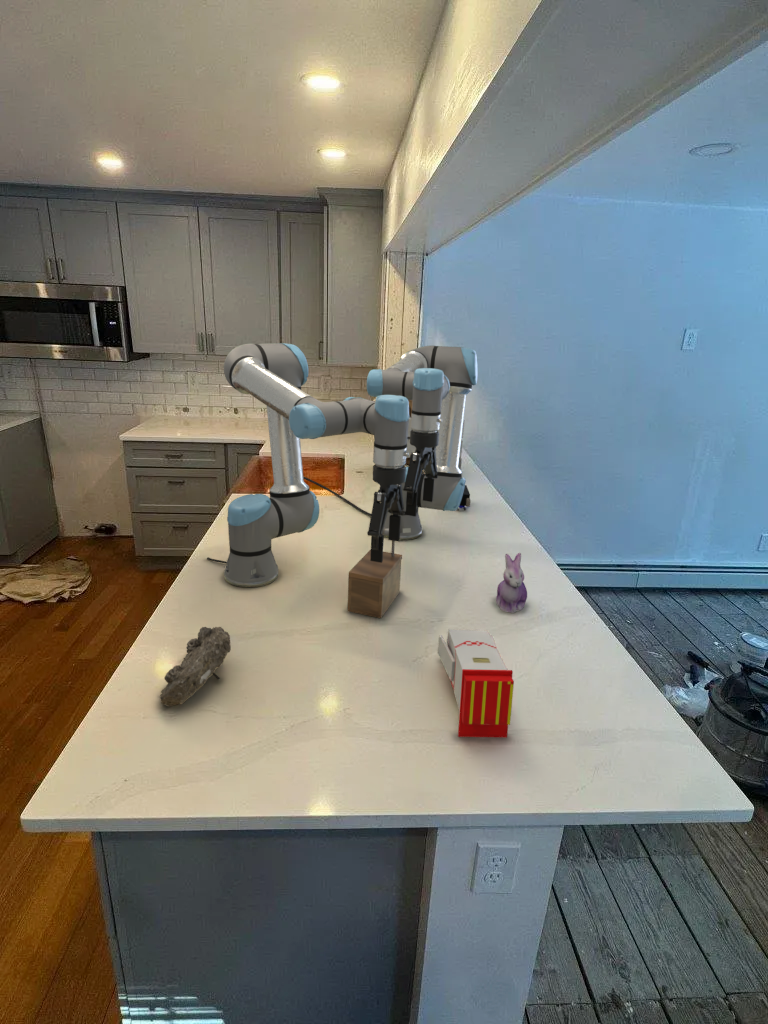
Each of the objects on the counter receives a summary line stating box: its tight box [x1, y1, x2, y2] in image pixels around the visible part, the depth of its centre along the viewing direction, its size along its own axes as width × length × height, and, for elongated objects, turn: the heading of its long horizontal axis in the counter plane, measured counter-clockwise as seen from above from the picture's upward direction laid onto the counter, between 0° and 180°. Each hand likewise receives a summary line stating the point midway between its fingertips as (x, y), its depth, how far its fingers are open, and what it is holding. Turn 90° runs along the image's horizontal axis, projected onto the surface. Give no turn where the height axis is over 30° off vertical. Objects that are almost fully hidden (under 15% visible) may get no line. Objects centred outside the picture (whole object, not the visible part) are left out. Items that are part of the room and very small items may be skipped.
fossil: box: [159, 626, 232, 707], centre depth 118 cm, size 22×10×15 cm
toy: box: [437, 628, 515, 738], centre depth 117 cm, size 12×13×30 cm
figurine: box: [495, 552, 528, 614], centre depth 152 cm, size 9×10×15 cm
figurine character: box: [456, 484, 471, 512], centre depth 229 cm, size 7×8×15 cm
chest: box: [347, 560, 402, 619], centre depth 152 cm, size 16×9×10 cm, turn 161°
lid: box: [347, 528, 403, 583], centre depth 149 cm, size 16×9×9 cm, turn 161°
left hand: (385, 550), depth 136 cm, fingers open, 13 cm apart
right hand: (419, 507), depth 153 cm, fingers open, 13 cm apart
